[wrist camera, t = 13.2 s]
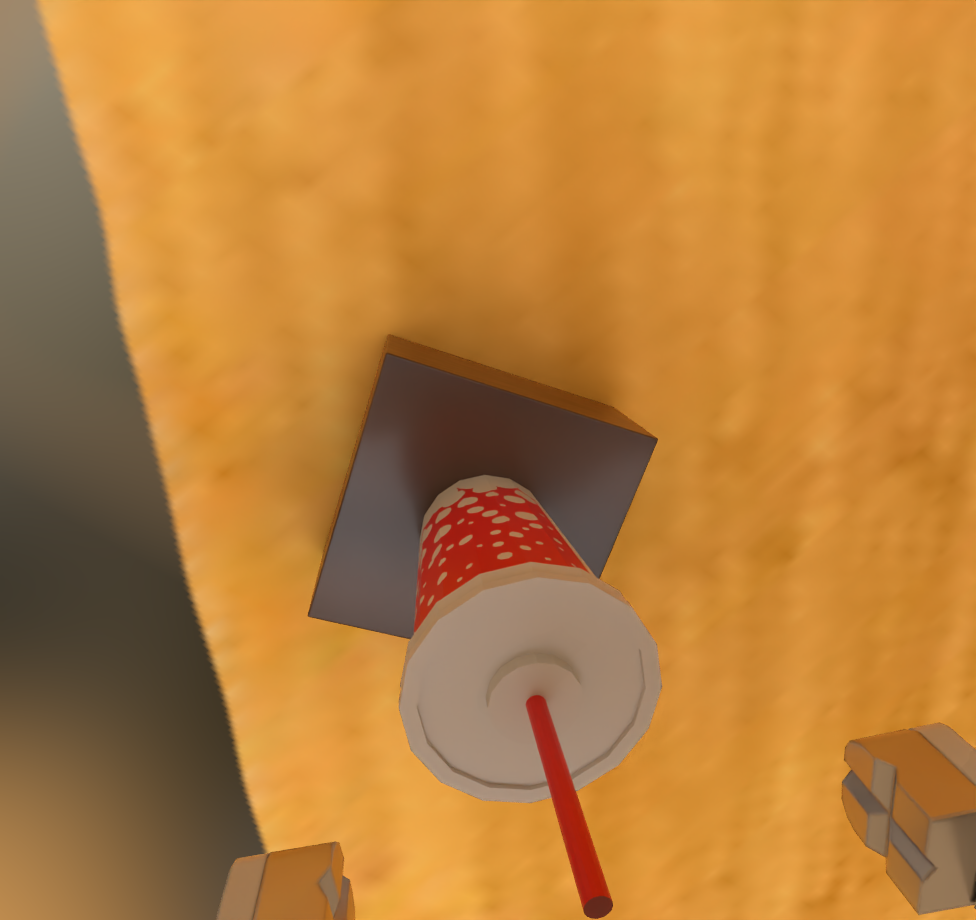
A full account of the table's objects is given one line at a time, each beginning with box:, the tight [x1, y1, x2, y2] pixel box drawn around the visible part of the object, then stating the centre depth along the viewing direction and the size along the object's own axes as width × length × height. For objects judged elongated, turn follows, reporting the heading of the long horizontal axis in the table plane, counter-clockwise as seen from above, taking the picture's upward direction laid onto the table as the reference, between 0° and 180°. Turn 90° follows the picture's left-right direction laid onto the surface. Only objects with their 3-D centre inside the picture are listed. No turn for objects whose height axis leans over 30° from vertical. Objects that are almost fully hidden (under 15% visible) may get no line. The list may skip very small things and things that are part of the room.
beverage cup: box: [399, 475, 662, 919], centre depth 17 cm, size 6×6×14 cm
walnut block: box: [308, 335, 658, 639], centre depth 26 cm, size 10×10×5 cm
